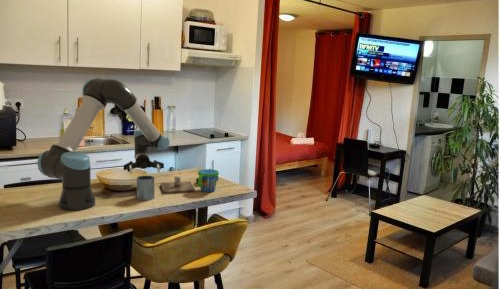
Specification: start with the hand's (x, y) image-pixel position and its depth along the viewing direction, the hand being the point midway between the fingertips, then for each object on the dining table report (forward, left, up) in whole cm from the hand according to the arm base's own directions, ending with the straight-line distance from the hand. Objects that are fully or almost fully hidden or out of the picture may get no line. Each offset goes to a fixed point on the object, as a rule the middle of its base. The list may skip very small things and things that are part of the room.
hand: (145, 170), depth 207 cm
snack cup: (+32, -3, -11) cm, 34 cm away
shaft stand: (+17, +3, -11) cm, 20 cm away
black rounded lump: (+33, +13, -11) cm, 37 cm away
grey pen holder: (0, -10, -11) cm, 15 cm away
